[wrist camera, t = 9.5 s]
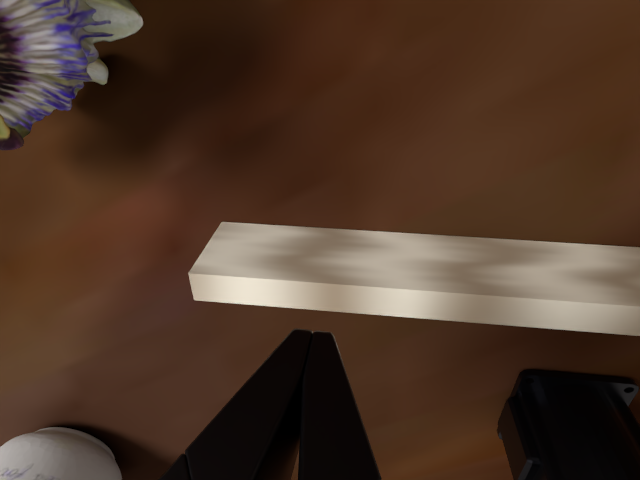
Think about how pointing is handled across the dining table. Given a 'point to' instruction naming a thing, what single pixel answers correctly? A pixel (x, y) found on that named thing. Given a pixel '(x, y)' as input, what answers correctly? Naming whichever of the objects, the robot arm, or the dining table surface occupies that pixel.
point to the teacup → (57, 457)
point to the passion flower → (53, 56)
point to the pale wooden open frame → (423, 276)
